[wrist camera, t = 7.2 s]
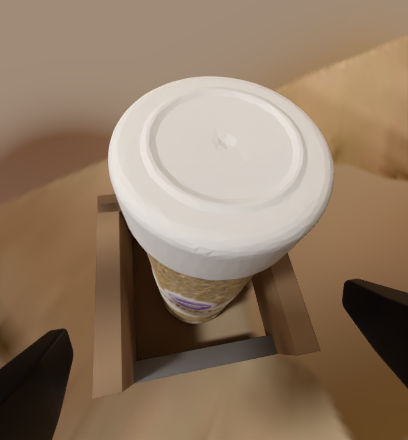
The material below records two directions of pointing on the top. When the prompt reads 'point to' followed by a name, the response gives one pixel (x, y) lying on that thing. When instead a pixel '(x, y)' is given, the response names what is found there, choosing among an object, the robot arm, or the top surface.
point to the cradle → (188, 360)
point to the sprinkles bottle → (217, 185)
